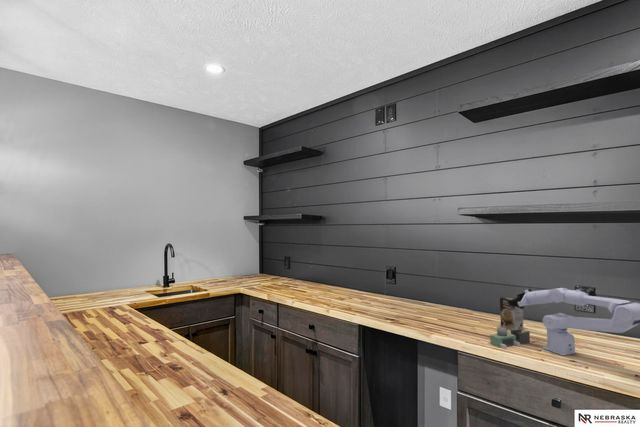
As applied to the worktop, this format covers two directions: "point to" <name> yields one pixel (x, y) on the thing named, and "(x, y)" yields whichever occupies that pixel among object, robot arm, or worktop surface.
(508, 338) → the green base with knob
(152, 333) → the worktop surface
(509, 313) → the coffee box
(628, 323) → the robot arm
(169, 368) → the worktop surface
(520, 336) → the chute
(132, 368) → the worktop surface
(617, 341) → the worktop surface
